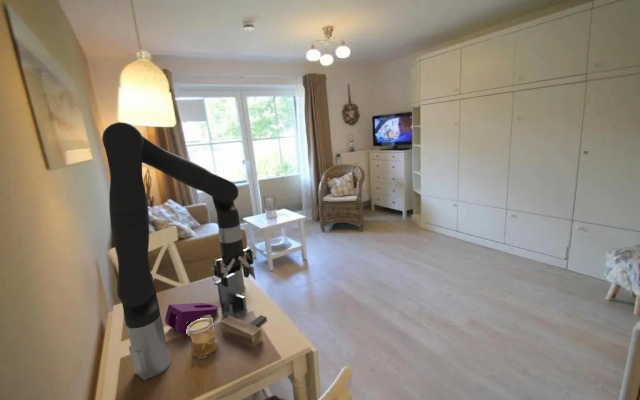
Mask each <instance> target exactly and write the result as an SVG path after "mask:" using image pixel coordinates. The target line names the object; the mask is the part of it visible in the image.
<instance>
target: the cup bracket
mask: <svg viewBox="0 0 640 400" xmlns="http://www.w3.org/2000/svg"><path fill="white" fill-rule="evenodd" d="M234 276H235V274H234V273H231V274H230V275H228V276H226V277H227V281H228V287H224V286H223V285H222V284H221V278H219V279H218V280H217V281H216V280H215V281H216V282H215V281H214V285H216V286H217V290H218V291H217V292H218V297H219V303H220V305H219V306H220V310H221V315H222V317H223V318H224V319H225V318H227V317H228V316H232V317H234V318H237V317H238V315H239V316H240V315H242V314H243V313H244V311H245V312H246V311H247V310H248V309H247V308H248V307H247V303H246V302H247V301H246V296H245V295H241V294H240V293H238V294H236V293H235V286H234V279H233V277H234Z"/></svg>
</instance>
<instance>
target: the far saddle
mask: <svg viewBox="0 0 640 400" xmlns="http://www.w3.org/2000/svg"><path fill="white" fill-rule="evenodd" d="M266 319H267V320H268V318H267V316H265V315H263V314H260V315H259V316H257V317H256V318H255V319H254V320H252V321H251V322H249V324H251V325H254V326H256V327H258V328H259V326H260V325H262V324H263V323H264V322H265V321H267V320H266ZM262 322H263V323H262ZM261 323H262V324H261Z"/></svg>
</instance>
